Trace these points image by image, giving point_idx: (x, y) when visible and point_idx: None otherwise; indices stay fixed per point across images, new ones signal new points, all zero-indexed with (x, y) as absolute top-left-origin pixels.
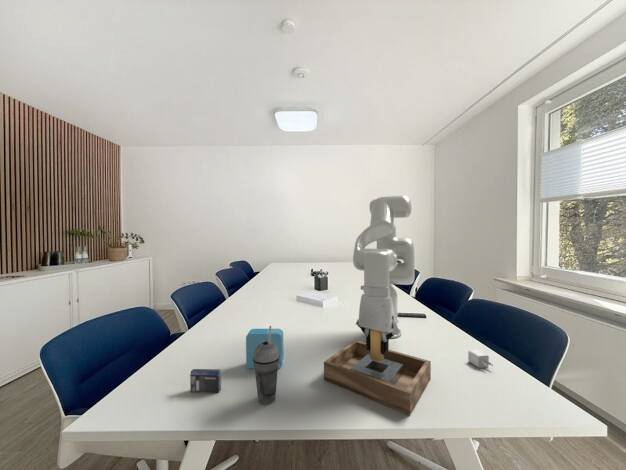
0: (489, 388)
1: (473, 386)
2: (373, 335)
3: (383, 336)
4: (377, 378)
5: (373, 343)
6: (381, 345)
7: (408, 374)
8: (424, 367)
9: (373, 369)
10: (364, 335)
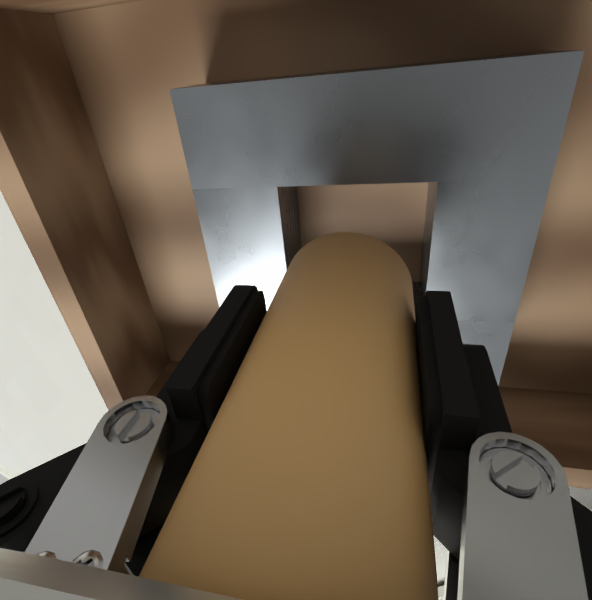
0: (22, 395)
1: (52, 385)
2: (304, 455)
3: (123, 469)
4: (264, 81)
5: (329, 339)
6: (220, 347)
7: None
8: (93, 360)
9: (414, 283)
10: (550, 454)
